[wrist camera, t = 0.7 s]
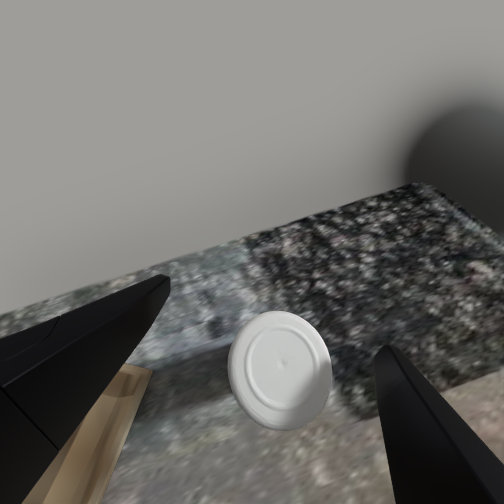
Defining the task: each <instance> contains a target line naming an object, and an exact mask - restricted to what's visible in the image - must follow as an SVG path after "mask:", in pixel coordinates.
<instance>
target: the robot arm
mask: <svg viewBox="0 0 504 504" xmlns="http://www.w3.org/2000/svg"><path fill="white" fill-rule="evenodd" d="M170 290H171V289H170V277H169V276H166V275H163V274H159V275H156V276H154V277H151V278H149V279H147V280H144V281H142V282H139V283H137V284H134V285H132V286H130V287H127V288H125V289H122V290H120V291H118V292H115V293H113V294H110V295H108V296H106V297H103V298H101V299H98V300H96V301H94V302H91V303H89V304H86V305H84V306H81V307H79V308H77V309H74V310H72V311H69V312H67V313H65V314H62V315H61V316H57V317H55V318H52V319H50V320H48V321H45V322H43V323H40V324H38V325H35V326H33V327H30V328H28V329H25V330H22V331H20V332H17V333H14V334H12V335H9V336H6V337H3V338H1V339H0V504H22V502H23V501H24V500H25V498H26V497H27V496H28V494H29V493H30V492H31V490H32V489H33V487H34V486H35V485H36V483H37V482H38V481H39V479H40V478H41V477H42V475H43V474H44V472H45V471H46V470H47V468H48V467H49V466H50V464H51V463H52V462H53V460H54V459H55V457H56V456H57V455H58V453H59V451H60V450H61V449H62V448H63V446H64V445H65V444H66V442H67V441H68V439H69V438H70V437H71V435H72V434H73V433H74V431H75V430H76V429H77V427H78V426H79V424H80V423H81V422H82V420H83V419H84V418H85V416H86V415H87V414H88V412H89V411H90V409H91V408H92V407H93V405H94V404H95V403H96V401H97V400H98V399H99V397H100V396H101V394H102V393H103V392H104V390H105V389H106V388H107V386H108V385H109V384H110V382H111V381H112V379H113V378H114V377H115V375H116V374H117V373H118V371H119V370H120V369H121V367H122V366H123V364H124V363H125V362H126V360H127V359H128V358H129V356H130V355H131V353H132V352H133V351H134V349H135V348H136V347H137V345H138V344H139V343H140V341H141V340H142V338H143V337H144V336H145V334H146V333H147V332H148V330H149V329H150V327H151V326H152V324H153V322H154V321H155V319H156V317H157V316H158V314H159V312H160V310H161V309H162V307H163V305H164V304H165V302H166V300H167V298H168V297H169V295H170ZM374 374H375V386H376V397H377V405H378V411H379V416H380V422H381V427H382V432H383V438H384V443H385V448H386V454H387V459H388V465H389V470H390V475H391V481H392V486H393V492H394V497H395V502H396V504H504V464H503V463H502V462H501V461H500V460H499V459H498V458H497V457H496V455H495V454H494V453H493V452H492V451H491V450H490V449H489V448H488V447H487V446H486V444H485V443H484V442H483V441H482V440H481V439H480V438H479V437H478V436H477V434H476V433H475V432H474V431H473V430H472V429H471V428H470V427H469V426H468V425H467V423H466V422H465V421H464V420H463V419H462V418H461V417H460V416H459V415H458V413H457V412H456V411H455V410H454V409H453V408H452V407H451V406H450V405H449V404H448V402H447V401H446V400H445V399H444V398H443V397H442V396H441V395H440V394H439V392H438V391H437V390H436V389H435V388H434V387H433V386H432V385H431V384H430V382H429V381H428V380H427V379H426V378H425V377H424V376H423V375H422V374H421V373H420V371H419V370H418V369H417V368H416V367H415V366H414V365H413V364H412V363H411V361H410V360H409V359H408V358H407V357H406V356H405V355H404V354H403V353H402V352H401V350H400V349H399V348H397V347H394V346H391V345H384V346H383V347H382V348H381V349H380V350H379V352H378V353H377V354H376V355H375V357H374Z"/></svg>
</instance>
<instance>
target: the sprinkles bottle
mask: <svg viewBox="0 0 504 504" xmlns="http://www.w3.org/2000/svg"><path fill="white" fill-rule="evenodd" d="M227 368H228V377H229V382H230V386H231V389H232V392H233V394H234V397H235V399H236V401H237V402H238V404H239V406H240V407H241V409H242V410H243V411H244V412H245V413H246V414H247V415H248V416H249V417H250V418H251V419H252V420H253V421H254V422H256V423H257V424H259V425H261V426H263V427H265V428H268V429H271V430H276V431H291V430H295V429H298V428H301V427H303V426H305V425H307V424H308V423H310V422H311V421H312V420H313V419H314V418H316V416H317V415H318V414H319V413H320V412H321V410H322V409H323V407H324V405H325V403H326V401H327V399H328V396H329V393H330V389H331V383H332V366H331V361H330V356H329V353H328V350H327V347H326V345H325V343H324V341H323V340H322V338H321V336H320V335H319V334H318V332H317V331H316V330H315V329H314V328H313V327H312V326H311V325H310V324H309V323H308V322H307V321H305V320H304V319H302V318H301V317H299V316H297V315H294V314H291V313H288V312H284V311H271V312H265V313H262V314H260V315H257V316H256V317H254V318H252V319H251V320H249V321H248V322H247V323H246V324H245V325H244V326H243V327H242V328H241V329H240V331H239V332H238V333H237V335H236V337H235V338H234V340H233V342H232V345H231V348H230V351H229V355H228V365H227Z"/></svg>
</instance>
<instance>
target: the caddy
mask: <svg viewBox="0 0 504 504" xmlns="http://www.w3.org/2000/svg"><path fill="white" fill-rule="evenodd" d="M152 372H153V370H150V369H146V368H142V367H138V366H134V365H130V364H126V363H124V364H123V366H122V367H121V369H120V370H119V371H118V373H117V374H116V375H115V377H114V378H113V379H112V381H111V382H110V384H109V385H108V386H107V388H106V389H105V390H104V392H103V393H102V394H101V396H100V397H99V399H98V400H97V401H96V403H95V404H94V405H93V407H92V408H91V409H90V411H89V412H88V414H87V415H86V416H85V418H84V419H83V420H82V422H81V423H80V424H79V426H78V427H77V429H76V430H75V431H74V433H73V434H72V435H71V437H70V438H69V439H68V441H67V442H66V444H65V445H64V446H63V448H62V449H61V450H60V451H59V453H58V455H57V456H56V457H55V459H54V460H53V462H52V463H51V464H50V466H49V467H48V468H47V470H46V471H45V472H44V474H43V475H42V477H41V478H40V479H39V481H38V482H37V483H36V485H35V486H34V487H33V489H32V490H31V492H30V493H29V494H28V496H27V497H26V498H25V500H24V501H23V502H22V504H100V503H101V500H102V498H103V495H104V493H105V490H106V488H107V485H108V483H109V480H110V478H111V475H112V473H113V470H114V468H115V465H116V463H117V460H118V458H119V455H120V453H121V450H122V448H123V445H124V443H125V440H126V438H127V435H128V433H129V430H130V428H131V425H132V422H133V420H134V417H135V415H136V412H137V410H138V407H139V405H140V402H141V400H142V397H143V395H144V392H145V390H146V387H147V385H148V382H149V380H150V377H151V375H152Z"/></svg>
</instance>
